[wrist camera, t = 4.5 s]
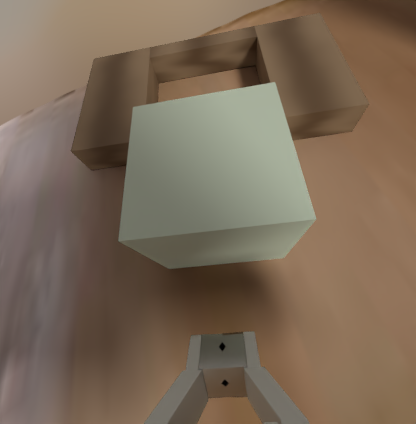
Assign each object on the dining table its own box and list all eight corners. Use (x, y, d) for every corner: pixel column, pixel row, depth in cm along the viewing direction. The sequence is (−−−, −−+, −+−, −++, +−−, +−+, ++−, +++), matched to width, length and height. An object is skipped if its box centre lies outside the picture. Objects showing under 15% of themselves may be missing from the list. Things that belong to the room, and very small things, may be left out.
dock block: (311, 43, 26) (320, 12, 23) (352, 131, 20) (369, 103, 17) (108, 82, 28) (93, 58, 26) (91, 170, 23) (70, 151, 20)
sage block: (263, 162, 20) (275, 82, 13) (283, 258, 16) (316, 219, 9) (169, 175, 21) (133, 107, 14) (169, 269, 17) (118, 241, 10)
